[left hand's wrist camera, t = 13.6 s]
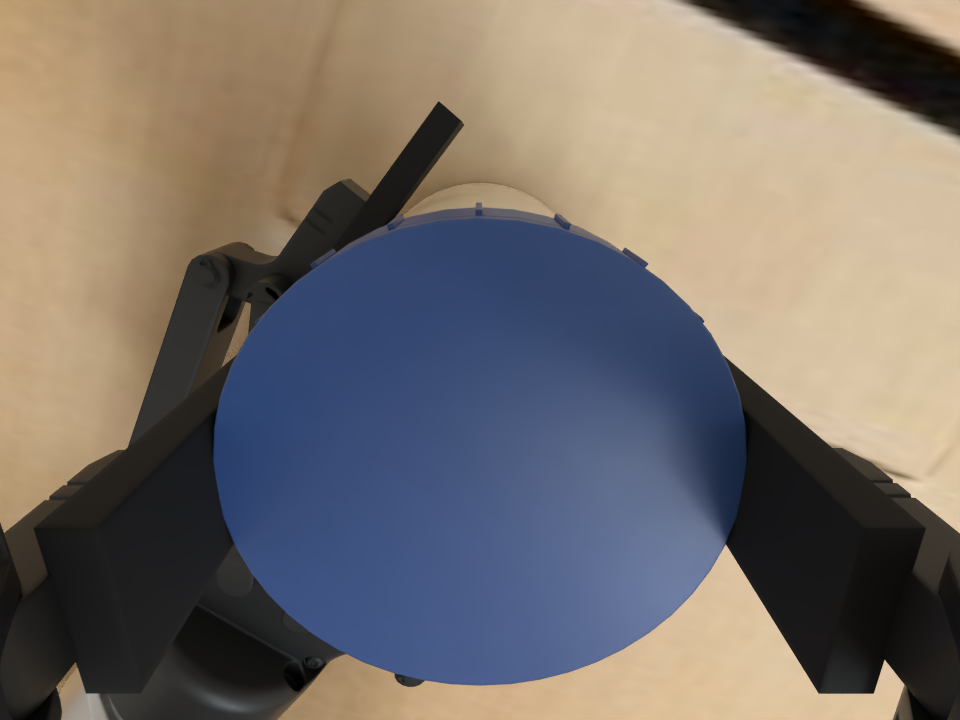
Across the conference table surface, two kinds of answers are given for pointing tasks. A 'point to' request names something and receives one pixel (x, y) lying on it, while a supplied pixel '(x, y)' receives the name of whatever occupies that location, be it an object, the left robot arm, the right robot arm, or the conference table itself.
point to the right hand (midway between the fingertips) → (576, 223)
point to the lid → (479, 448)
